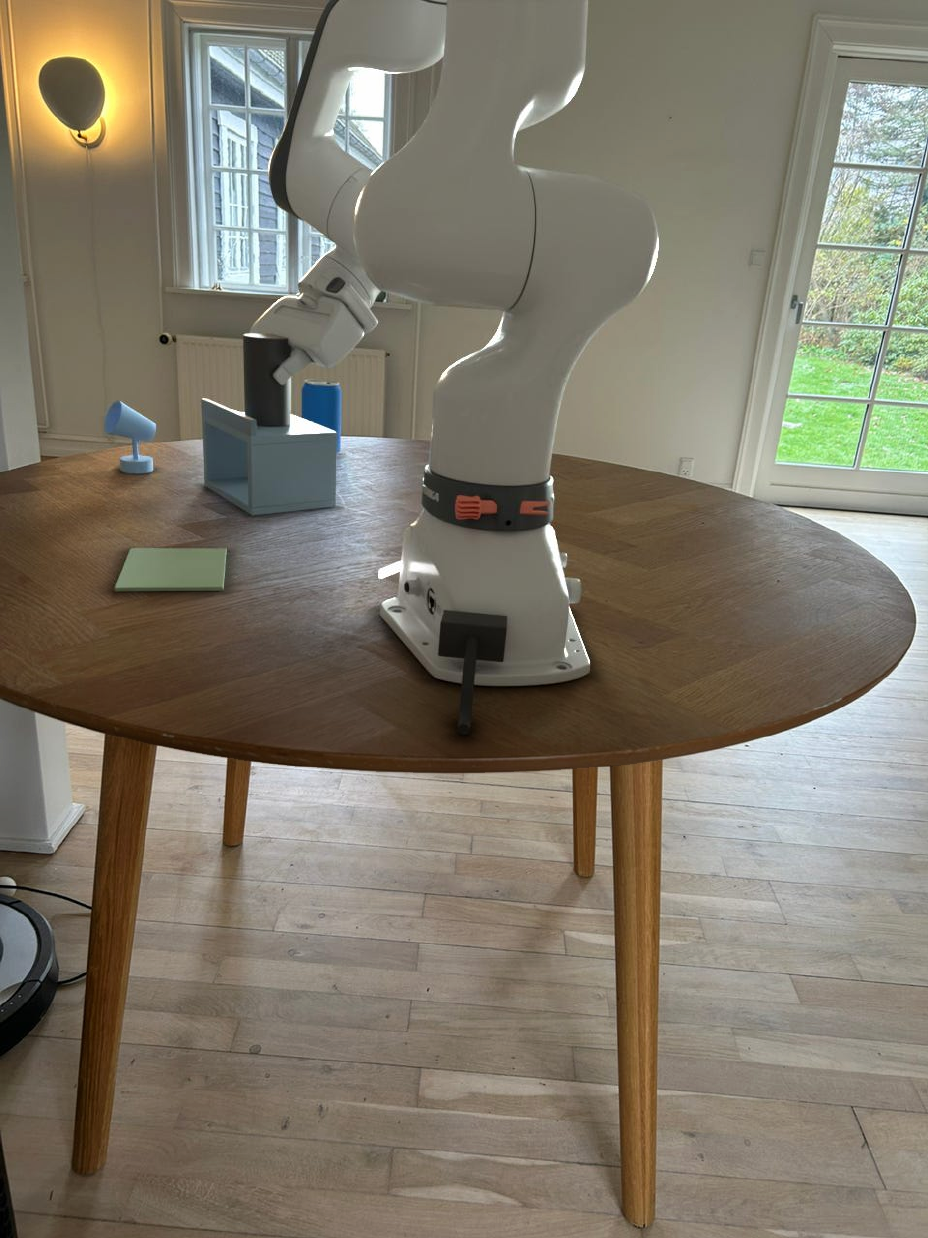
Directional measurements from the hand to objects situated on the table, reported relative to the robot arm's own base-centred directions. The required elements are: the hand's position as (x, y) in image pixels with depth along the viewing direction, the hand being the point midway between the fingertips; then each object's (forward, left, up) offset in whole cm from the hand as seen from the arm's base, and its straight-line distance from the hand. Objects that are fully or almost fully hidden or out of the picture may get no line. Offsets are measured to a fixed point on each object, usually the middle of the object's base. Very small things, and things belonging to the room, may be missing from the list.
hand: (263, 376), depth 111 cm
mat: (-30, +9, -16) cm, 35 cm away
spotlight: (+13, +18, -16) cm, 28 cm away
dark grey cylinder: (0, -1, -6) cm, 6 cm away
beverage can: (+27, -10, -16) cm, 33 cm away
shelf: (0, -1, -16) cm, 16 cm away
